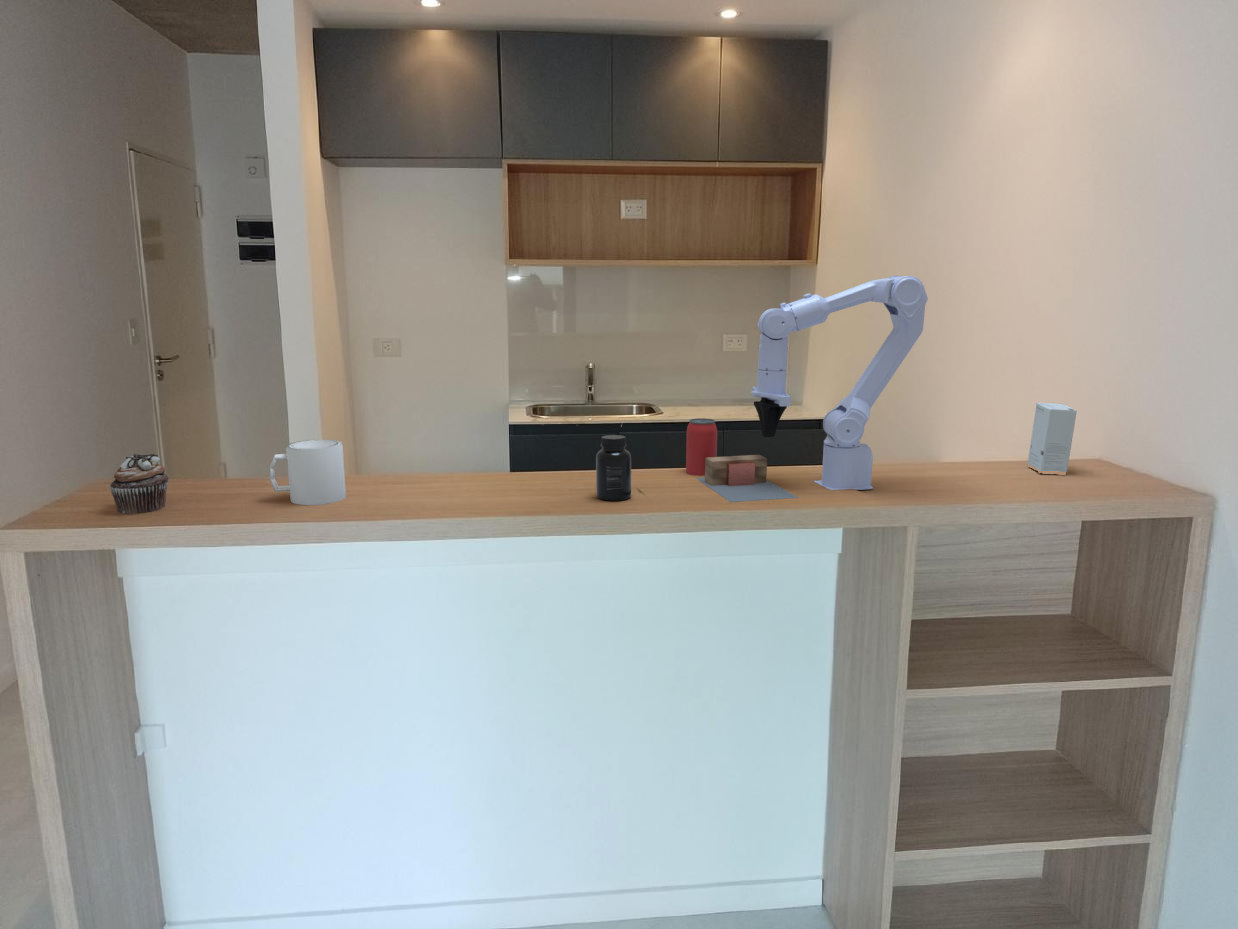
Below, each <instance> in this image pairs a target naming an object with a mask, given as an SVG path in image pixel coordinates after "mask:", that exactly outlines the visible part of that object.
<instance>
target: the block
mask: <svg viewBox="0 0 1238 929" xmlns="http://www.w3.org/2000/svg"><path fill="white" fill-rule="evenodd" d="M742 462H754V463H755V479H754V483H762V482H766V480H767V476H768V475H767V474H768V458H767V457H765V456H763V455H761V454H750V455H749V454H748V455H731V456H727V455H725V456H717V457H706V458H705V476H704V478H705V481H706V482H707V483H708V484H710V485H711V486H713V485H726V483H727V463H742Z"/></svg>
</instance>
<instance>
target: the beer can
mask: <svg viewBox="0 0 1238 929" xmlns="http://www.w3.org/2000/svg"><path fill="white" fill-rule="evenodd" d="M688 422H689V423H688V425H687V428H686V446H685V447H686V448H685V449H686V450H685V451H686V452H685V453H686V454H685V473H686V474H688V475H691V476H697V477H698V476H699V477H700V476H701V477H703V476H704V477H705V458H706V457H718V455H717V454H718V427H717V425H716V420H715V419H712V418H706V417H705V418H703V417H702V418H691V419H689V421H688Z"/></svg>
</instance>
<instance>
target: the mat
mask: <svg viewBox="0 0 1238 929" xmlns="http://www.w3.org/2000/svg"><path fill="white" fill-rule="evenodd" d="M695 479H696V480H697V481H698V482H700V483H702V484H704V485H705V486H706V487H708V488H709V489H711V490H712V491H713V492H715V493H716V494H718V495H719V496H721V497H722V498H724V499H725V500H726V501H728V502H730V503H739V502H752V501H767V500H768V501H770V500H783V499H785V500H786V499H798V498H799V497H798V496H796V495H795V494H793V493H791V492H790V491H787V490H786V489H784V488H782V487H780V486H779V485H777V484H775V483H773V482H771V481H769V480H768V479H766V482H762V483H754V485H740V486H728V485H713V486H711V485H710V484H708V483H707V482H706V481H705V477H695Z"/></svg>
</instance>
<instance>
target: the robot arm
mask: <svg viewBox="0 0 1238 929" xmlns="http://www.w3.org/2000/svg"><path fill="white" fill-rule="evenodd" d="M802 296H803V298H800V299H798V300H795V301H792V302H789V303H786V302H781V303H780V304H779V305H780V306H779V307H780V308H779V307H778V308H768V309H767V310H765V311H763V313H762V314H761V315H760V317H759V319H758V322H757V328H758V330H759V332H760V335H759V336H760V337H759V345H758V354H757V355H758V356H757V357H758V361H757V376H756V386H752V389H751V391H750V395H751V397H752V398H753V397H757V398H759V399H760V400H759V401H758V400H756V401H753V406H754V408H755V410H756V413H757V416H758V419H759V424H760V430H761V436H762V437H763V438H775V435H776V432H777V429H778V426H779V422H780V420H781V418H782V415H783V414H784V412H785V410H786V409H787V408H788V407H791V403H792V402H791V401H792V396H790V395H788V393H787V391H786V389H787V388H786V386H787V374H788V373H787V370H788V354H789V351H788V350H789V348H788V347H789V346H788V343H789V342H788V341H789V340H788V338H789V335H790V333H791V332H794V333H796V332H799V331H802V330H805V329H809V328H810V327H811V328H812V327H814V326H817V325H820V324H822V323H825V322H826V321H827V319H828V317H829V316H830V314H832V313H836V312H839V311H842V310H845V309H848V308H851V307H855V306H858V305H862V304H864V303H869V302H875V303H880V304H882V305H884V307H885V308H886V309H887V311H888V313H889V315H890V320H891V323H892V330H891V331H890V333H889V334H888V335H887V337H886V338H885V340H884V342H883V343H882V344H881V346H880V347H879V349H878V350H877V352H876V354H875V355H874V357H873V358H872V359H871V361H870V362H869V364H868V365H867V367H866V368H865V370H864V371H863V373H862V374H861V376H860V378H858V381H857V382H856V383H855V385H854V386H853V388H852V389H851V391H850V392H849V393H848V395H846V396H845V397H844V398H843V399H842V400H840V401H839V403H838V404H837V405H836V407H835V408H832V409H831V410H829V411H828V412H827V413H826V414H825V415H824V418H823V420H822V421H823V422H822V428H823V431H824V432H825V433H826V436H825V439H824V440H823V451H822V452H823V454H822V469H821V479H819V480H813V482H814V483H816V484H818V485H820V486H821V487H823V488H826V489H828V490H831V491H835V490H836V491H839V490H852V489H853V490H856V491H861V490H862V491H863V490H865V491H866V490H873V486H872V476H873V475H872V474H873V473H872V472H873V459H874V458H873V453H872V449H871V447H870V445H868V444H867V443H861V440H862V437H863V436H864V430H865V426H866V424H867V423H868V420H869V419H870V414H871V409H872V407H873V405H874V404H876V401H877V399H878V398H879V396H880V395H881V394H882V393H883V391H884V390H885V388H886V387H887V385H888V384H889V383H890V380H891V379H892V378H893V376H894V375H895V373H896V372H897V370H898V369H899V367H900V366H901V365H902V363H903V361H904V360H905V359H906V357H907V356H908V354H909V352H910V351H911V350H912V349H913V347H914V346H915V344H916V342H917V341H918V340H919V338H920V336H921V335H922V334H923V330H924V324H925V323H924V322H925V312H926V305H927V302H928V300H929V297H928V294H927V291H926V289H925V285H924V284H923V281H921V279H919V278H918V277H916V276H913V275H906V276H902V275H893V276H889V277H887V278H879V279H874V280H870V281H866V282H864V283H862V284H859V285H856V286H853V287H850V288H848V289H846V290H842V291H840V292H838V293H835V294H833V295H829V296H827V297H823V296H821V295H819V294H817V293H816V294H812V293H809V292H808V293H805V294H803V295H802Z"/></svg>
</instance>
